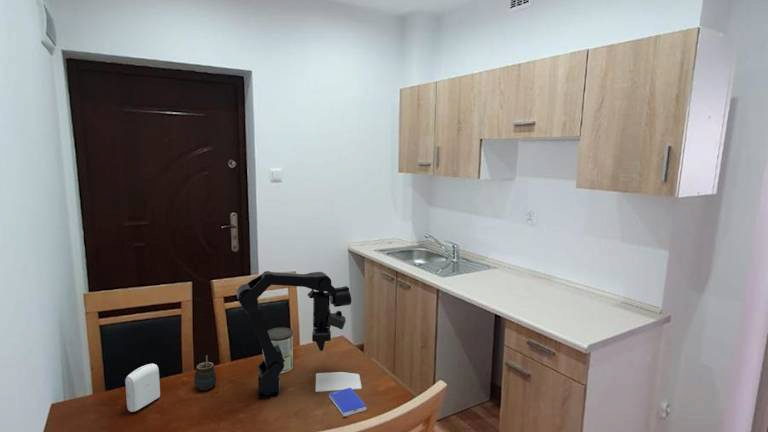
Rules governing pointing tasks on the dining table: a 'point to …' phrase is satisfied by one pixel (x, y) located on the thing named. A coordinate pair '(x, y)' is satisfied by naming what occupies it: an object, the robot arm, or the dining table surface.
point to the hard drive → (347, 401)
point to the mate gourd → (205, 375)
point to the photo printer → (142, 387)
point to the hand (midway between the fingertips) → (321, 350)
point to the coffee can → (283, 345)
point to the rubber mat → (337, 381)
